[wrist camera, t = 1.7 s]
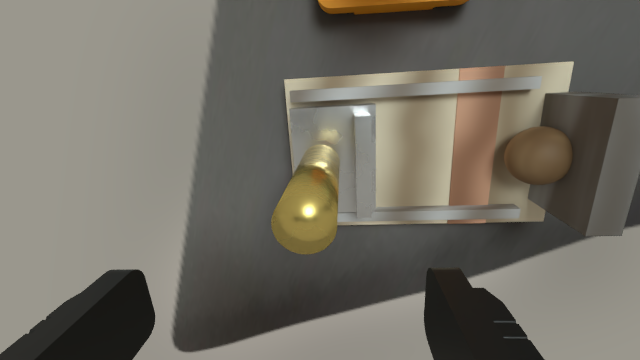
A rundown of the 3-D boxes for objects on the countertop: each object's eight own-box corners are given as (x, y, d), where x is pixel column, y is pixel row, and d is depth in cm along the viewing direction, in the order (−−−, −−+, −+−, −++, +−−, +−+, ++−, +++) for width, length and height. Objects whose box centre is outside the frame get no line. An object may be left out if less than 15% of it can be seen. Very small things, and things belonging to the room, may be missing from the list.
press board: (561, 62, 22) (673, 54, 15) (535, 210, 26) (613, 264, 19) (288, 79, 24) (263, 79, 17) (300, 216, 28) (284, 266, 20)
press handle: (373, 102, 22) (402, 126, 11) (373, 203, 25) (398, 303, 14) (292, 107, 23) (245, 133, 12) (300, 205, 25) (268, 302, 14)
